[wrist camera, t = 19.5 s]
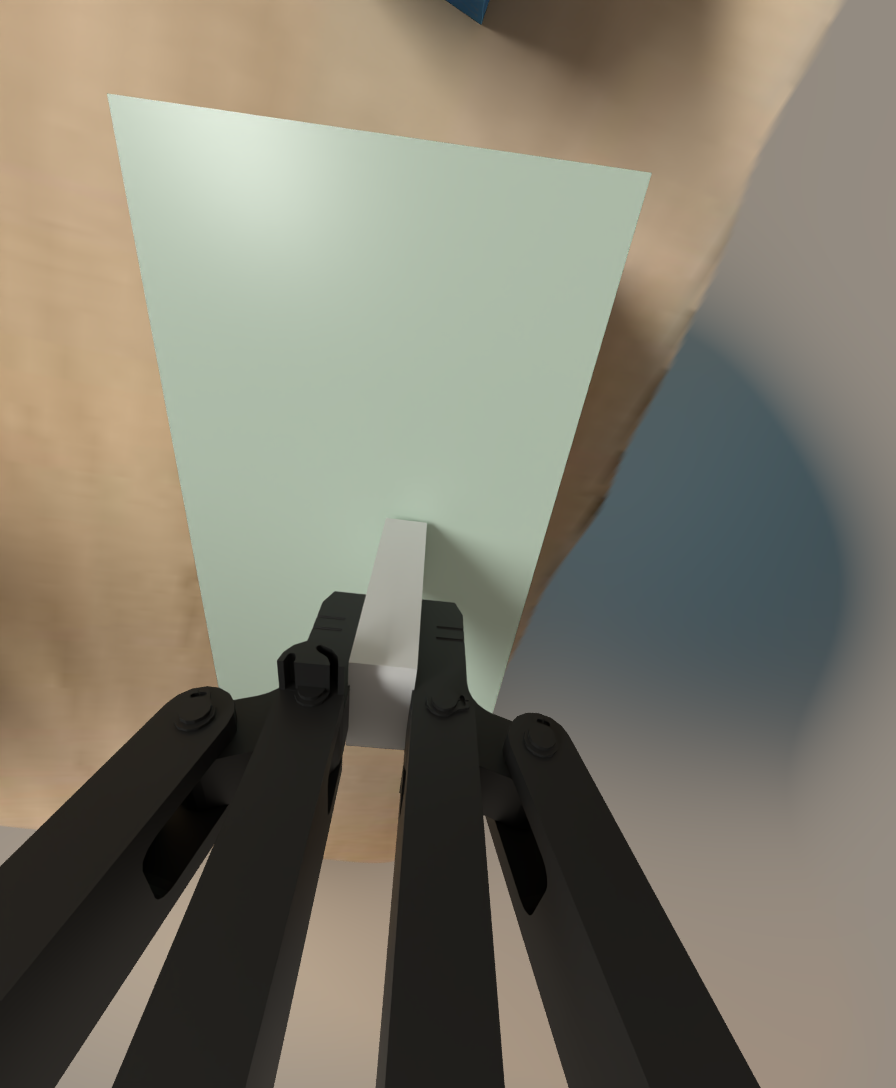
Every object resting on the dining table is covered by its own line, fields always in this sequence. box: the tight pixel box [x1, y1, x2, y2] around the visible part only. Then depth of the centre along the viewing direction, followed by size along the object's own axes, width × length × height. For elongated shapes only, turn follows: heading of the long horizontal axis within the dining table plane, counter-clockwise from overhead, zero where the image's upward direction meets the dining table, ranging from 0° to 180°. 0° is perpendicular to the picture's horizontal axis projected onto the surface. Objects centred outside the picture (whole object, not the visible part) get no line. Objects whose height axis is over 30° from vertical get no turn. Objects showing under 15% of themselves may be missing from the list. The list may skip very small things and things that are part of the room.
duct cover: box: [107, 94, 652, 713], centre depth 16 cm, size 13×22×1 cm, turn 172°
